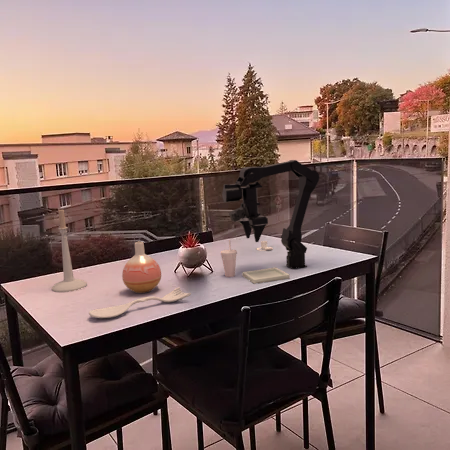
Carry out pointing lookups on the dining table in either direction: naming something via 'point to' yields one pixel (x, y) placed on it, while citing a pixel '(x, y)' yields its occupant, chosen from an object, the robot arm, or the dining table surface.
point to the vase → (141, 271)
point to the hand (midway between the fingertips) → (252, 240)
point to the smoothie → (229, 261)
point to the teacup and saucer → (264, 246)
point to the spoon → (121, 309)
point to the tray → (265, 275)
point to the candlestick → (66, 263)
